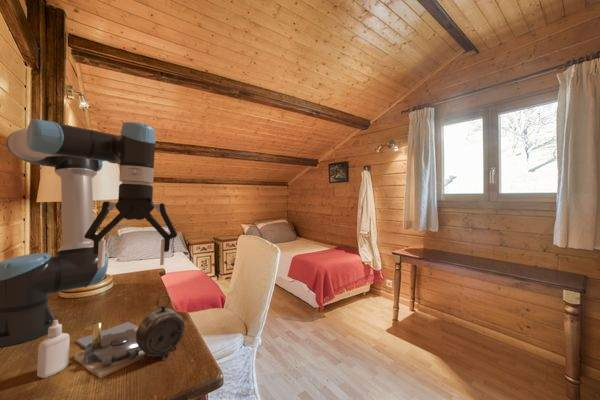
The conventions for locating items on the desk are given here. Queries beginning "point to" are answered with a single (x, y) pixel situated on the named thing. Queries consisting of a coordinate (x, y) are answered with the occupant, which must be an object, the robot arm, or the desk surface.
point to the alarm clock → (160, 332)
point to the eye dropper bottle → (53, 351)
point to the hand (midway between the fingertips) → (132, 265)
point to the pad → (113, 330)
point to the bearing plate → (105, 369)
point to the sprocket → (111, 346)
